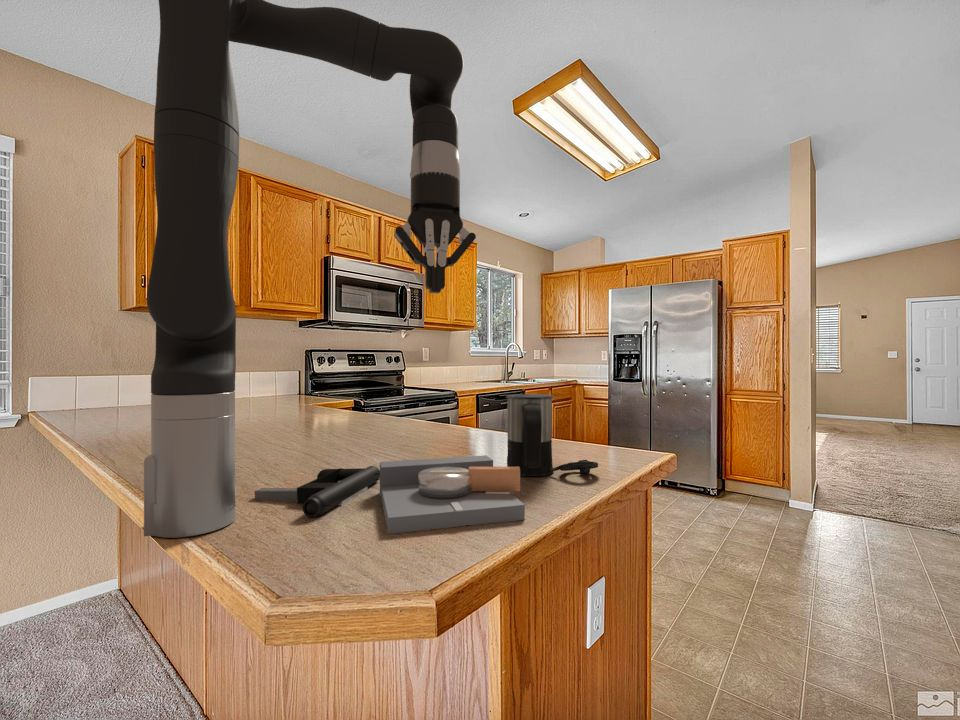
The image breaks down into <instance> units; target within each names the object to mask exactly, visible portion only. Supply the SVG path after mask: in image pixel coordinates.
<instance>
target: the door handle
mask: <svg viewBox="0 0 960 720" xmlns="http://www.w3.org/2000/svg"><path fill="white" fill-rule="evenodd" d="M378 481H380V468H379V467H377V466H376V465H375V466H374V465H370V466H367V467H363V468H342V467H341V468H324V469H322V470H320V471H319V472H318V474H317V477H316V479H313V480H311V481H309V482H306V483H305V484H302V485H300V486H298V487H289V488H288V487H287V488H286V487H284V488H282V487H273V488H272V487H270V488H269V487H268V488H267V487H266V488H265V487H263V488H259V489H256V490H254V500H261V501H272V502H274V501H276V502H285V501H286V502H289V503H297V504H298V505H302V506H301V507H302V508H301V509H302V512H303V514H304V515H305V516H306V517H308V518H314V517H319V515H320V516H322V515H324V514H325V513H327V512H329V511H330V510H332V509H333V508H335V507H336V506H339V505H342V506H345V505H346V504H347V503H349V502H350V501H352V500H353V499H355V498H357V497H358V496H360V495H362V494H363V493H365V492H367V491H368V488H369V487H371V485H374V484H375V483H377V482H378ZM366 490H367V491H366ZM361 493H362V494H361ZM359 494H360V495H359ZM356 496H357V497H356ZM354 497H355V498H354ZM351 499H352V500H351ZM349 500H350V501H349ZM348 501H349V502H348ZM286 502H285V503H286ZM346 502H347V503H346Z"/></svg>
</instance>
